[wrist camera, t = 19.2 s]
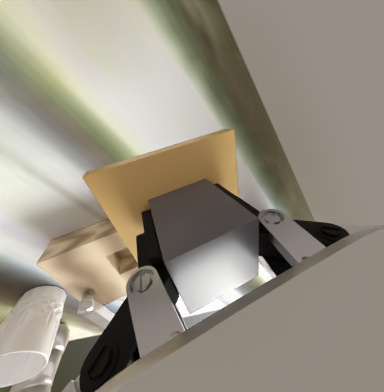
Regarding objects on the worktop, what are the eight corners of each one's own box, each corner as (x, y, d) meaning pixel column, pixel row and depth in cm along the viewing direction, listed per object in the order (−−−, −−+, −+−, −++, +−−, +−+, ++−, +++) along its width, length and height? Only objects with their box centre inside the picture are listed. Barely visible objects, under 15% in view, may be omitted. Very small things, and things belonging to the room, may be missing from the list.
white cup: (53, 315, 31) (24, 386, 23) (4, 307, 27) (-53, 392, 18) (79, 289, 31) (61, 352, 22) (35, 277, 26) (-9, 349, 18)
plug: (206, 127, 13) (317, 136, 5) (219, 210, 17) (289, 279, 10) (96, 160, 11) (26, 245, 3) (143, 244, 16) (157, 359, 8)
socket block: (146, 204, 28) (149, 218, 24) (168, 253, 35) (173, 271, 31) (51, 240, 25) (35, 264, 21) (96, 286, 32) (92, 311, 28)
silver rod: (146, 332, 36) (147, 347, 34) (138, 337, 36) (138, 352, 33) (91, 288, 25) (87, 305, 23) (79, 294, 25) (74, 312, 23)
